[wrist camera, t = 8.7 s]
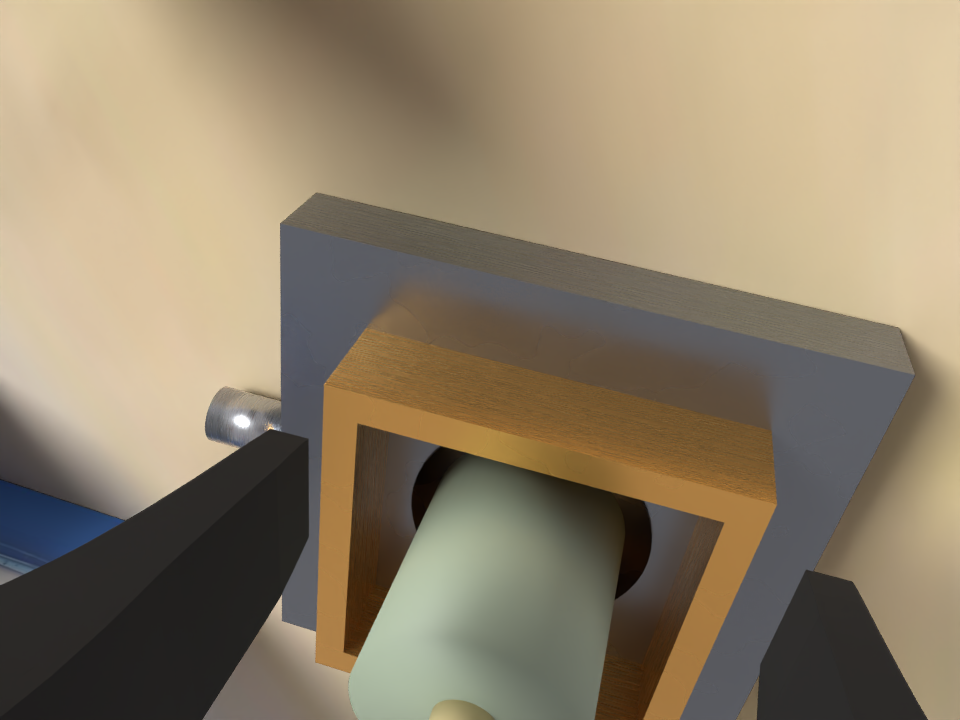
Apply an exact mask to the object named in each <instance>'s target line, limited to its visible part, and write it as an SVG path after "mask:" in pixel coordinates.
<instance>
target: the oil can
mask: <svg viewBox="0 0 960 720" xmlns="http://www.w3.org/2000/svg"><path fill="white" fill-rule="evenodd" d="M624 539H625V522H624V518H623V514H622V511H621V509H620V506H619V504H618V502H617V500H616V498H615V497H614V495H613V493H612V492H610V491H606V490H602V489H599V488H595V487H591V486H588V485H584V484H580V483H576V482H573V481H569V480H565V479H562V478H558V477H554V476H551V475H547V474H543V473H539V472H536V471H532V470H528V469H525V468H521V467H517V466H514V465H510V464H506V463H502V462H499V461H495V460H491V459H488V458H484V457H480V456H477V455H473V454H469V453H466V454H464V455H463V456H461V457H460V458H459V459H457V460H456V461H455V462H454V463H453V464H452V465H451V466H450V467H449V468H448V469H447V471H446V472H445V473H444V475H443V477H442V479H441V481H440V483H439V485H438V487H437V489H436V492H435V494H434V496H433V498H432V500H431V502H430V504H429V506H428V509H427V511H426V513H425V515H424V517H423V519H422V521H421V524H420V526H419V528H418V530H417V532H416V534H415V536H414V539H413V541H412V543H411V545H410V547H409V549H408V551H407V553H406V556H405V558H404V560H403V562H402V564H401V566H400V568H399V571H398V573H397V575H396V577H395V579H394V581H393V583H392V586H391V588H390V590H389V592H388V594H387V596H386V598H385V600H384V603H383V605H382V607H381V609H380V611H379V613H378V615H377V618H376V620H375V622H374V624H373V626H372V628H371V630H370V633H369V635H368V637H367V639H366V641H365V643H364V645H363V647H362V650H361V652H360V654H359V656H358V658H357V660H356V662H355V665H354V667H353V669H352V671H351V674H350V678H349V687H348V691H349V698H350V702H351V705H352V708H353V711H354V713H355V715H356V717H357V719H358V720H594V719H595V713H596V707H597V701H598V695H599V689H600V683H601V677H602V672H603V666H604V660H605V654H606V648H607V642H608V636H609V630H610V624H611V618H612V612H613V606H614V600H615V594H616V588H617V582H618V576H619V570H620V564H621V558H622V552H623V546H624Z"/></svg>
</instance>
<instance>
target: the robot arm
mask: <svg viewBox="0 0 960 720" xmlns="http://www.w3.org/2000/svg"><path fill="white" fill-rule="evenodd" d="M308 538H309V439H308V438H304V437H301V436H297V435H293V434H289V433H285V432H281V431H278V430H274V429H269V430H268V431H266V432H265V433H263V434H261V435H260V436H258V437H257V438H255V439H253V440H252V441H250V442H249V443H247V444H246V445H244V446H243V447H241V448H240V449H238V450H237V451H235V452H234V453H232V454H231V455H229V456H228V457H226V458H225V459H223V460H222V461H220V462H218V463H217V464H215V465H214V466H212V467H211V468H209V469H208V470H206V471H205V472H203V473H202V474H200V475H199V476H197V477H196V478H194V479H193V480H191V481H189V482H188V483H186V484H185V485H183V486H181V487H180V488H178V489H177V490H175V491H173V492H172V493H170V494H169V495H167V496H165V497H164V498H162V499H161V500H159V501H157V502H156V503H154V504H153V505H151V506H150V507H148V508H146V509H145V510H143V511H141V512H140V513H138V514H136V515H135V516H133V517H131V518H129V519H128V520H126V521H124V522H122V523H120V524H119V525H117V526H115V527H113V528H112V529H110V530H108V531H106V532H105V533H103V534H101V535H99V536H98V537H96V538H94V539H92V540H91V541H89V542H87V543H85V544H83V545H82V546H80V547H78V548H76V549H74V550H72V551H70V552H68V553H66V554H64V555H63V556H61V557H59V558H57V559H55V560H53V561H51V562H49V563H47V564H45V565H42V566H40V567H38V568H36V569H34V570H32V571H30V572H28V573H26V574H23V575H21V576H19V577H17V578H15V579H13V580H11V581H9V582H6V583H4V584H2V585H0V720H202V719H203V718H204V716H205V715H206V713H207V711H208V710H209V708H210V707H211V705H212V704H213V702H214V701H215V699H216V697H217V696H218V694H219V693H220V691H221V690H222V688H223V687H224V685H225V683H226V682H227V680H228V679H229V677H230V676H231V674H232V673H233V671H234V669H235V668H236V666H237V665H238V663H239V662H240V660H241V659H242V657H243V655H244V654H245V652H246V651H247V649H248V648H249V646H250V645H251V643H252V641H253V640H254V638H255V637H256V635H257V633H258V632H259V630H260V629H261V627H262V626H263V624H264V622H265V621H266V619H267V618H268V616H269V615H270V613H271V611H272V610H273V608H274V607H275V605H276V603H277V602H278V600H279V598H280V597H281V595H282V593H283V591H284V589H285V587H286V585H287V583H288V581H289V579H290V577H291V575H292V573H293V571H294V568H295V566H296V564H297V562H298V560H299V558H300V555H301V553H302V551H303V549H304V547H305V545H306V542H307V540H308ZM757 720H928V719H927V717H926V716H925V714H924V712H923V711H922V709H921V707H920V705H919V704H918V702H917V700H916V698H915V697H914V695H913V693H912V691H911V689H910V688H909V686H908V684H907V682H906V681H905V679H904V677H903V675H902V673H901V671H900V669H899V668H898V666H897V664H896V662H895V660H894V658H893V656H892V655H891V653H890V651H889V649H888V647H887V645H886V643H885V641H884V639H883V638H882V636H881V634H880V632H879V630H878V628H877V626H876V624H875V622H874V620H873V618H872V617H871V615H870V613H869V611H868V609H867V607H866V605H865V603H864V601H863V599H862V597H861V595H860V594H859V592H858V590H857V588H856V587H855V585H854V583H853V582H852V581H848V580H844V579H840V578H836V577H833V576H829V575H825V574H821V573H817V572H814V571H810V570H805V572H804V575H803V577H802V579H801V581H800V583H799V585H798V587H797V589H796V591H795V593H794V595H793V597H792V599H791V601H790V604H789V606H788V608H787V610H786V612H785V614H784V616H783V618H782V620H781V622H780V624H779V626H778V628H777V631H776V633H775V635H774V637H773V639H772V641H771V643H770V645H769V647H768V649H767V651H766V653H765V655H764V658H763V660H762V662H761V664H760V675H759V691H758V707H757Z"/></svg>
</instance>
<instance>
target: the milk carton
mask: <svg viewBox="0 0 960 720" xmlns="http://www.w3.org/2000/svg"><path fill="white" fill-rule="evenodd" d="M124 521H125V520H122V519H119V518H116V517H113V516H109V515H106V514H103V513H100V512H97V511H94V510H91V509H88V508H85V507H82V506H79V505H76V504H73V503H70V502H67V501H64V500H61V499H58V498H55V497H52V496H49V495H46V494H43V493H40V492H37V491H34V490H30V489H27V488H24V487H21V486H18V485H15V484H12V483H9V482H6V481H3V480H0V585H2V584H4V583H6V582H9V581H11V580H13V579H15V578H17V577H19V576H21V575H23V574H26V573H28V572H30V571H32V570H34V569H36V568H38V567H40V566H42V565H45V564H47V563H49V562H51V561H53V560H55V559H57V558H59V557H61V556H63V555H64V554H66V553H68V552H70V551H72V550H74V549H76V548H78V547H80V546H82V545H83V544H85V543H87V542H89V541H91V540H92V539H94V538H96V537H98V536H99V535H101V534H103V533H105V532H106V531H108V530H110V529H112V528H113V527H115V526H117V525H119V524H120V523H122V522H124Z"/></svg>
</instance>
